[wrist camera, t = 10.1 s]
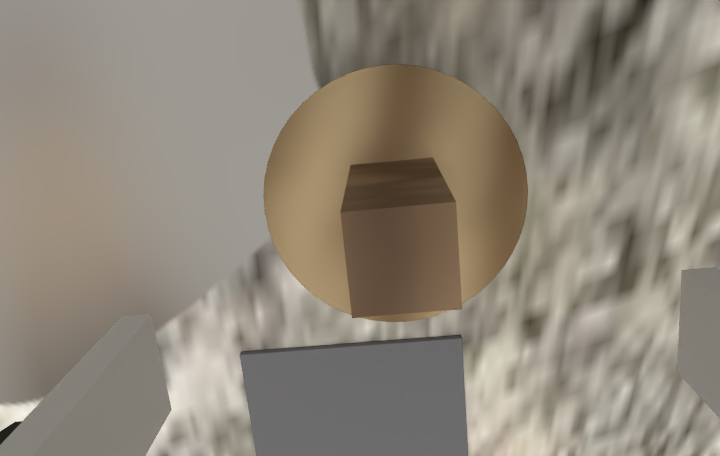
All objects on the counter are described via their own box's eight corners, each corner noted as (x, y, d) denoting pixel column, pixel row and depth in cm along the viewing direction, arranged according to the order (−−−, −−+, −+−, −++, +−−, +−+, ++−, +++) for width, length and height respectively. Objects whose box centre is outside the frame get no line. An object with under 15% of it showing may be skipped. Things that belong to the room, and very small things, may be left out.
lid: (519, 51, 29) (589, 52, 20) (526, 304, 33) (587, 409, 23) (249, 78, 30) (190, 92, 20) (284, 323, 34) (248, 433, 24)
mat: (460, 335, 44) (461, 338, 44) (471, 519, 49) (472, 523, 48) (241, 351, 45) (239, 355, 45) (270, 531, 50) (269, 535, 49)
